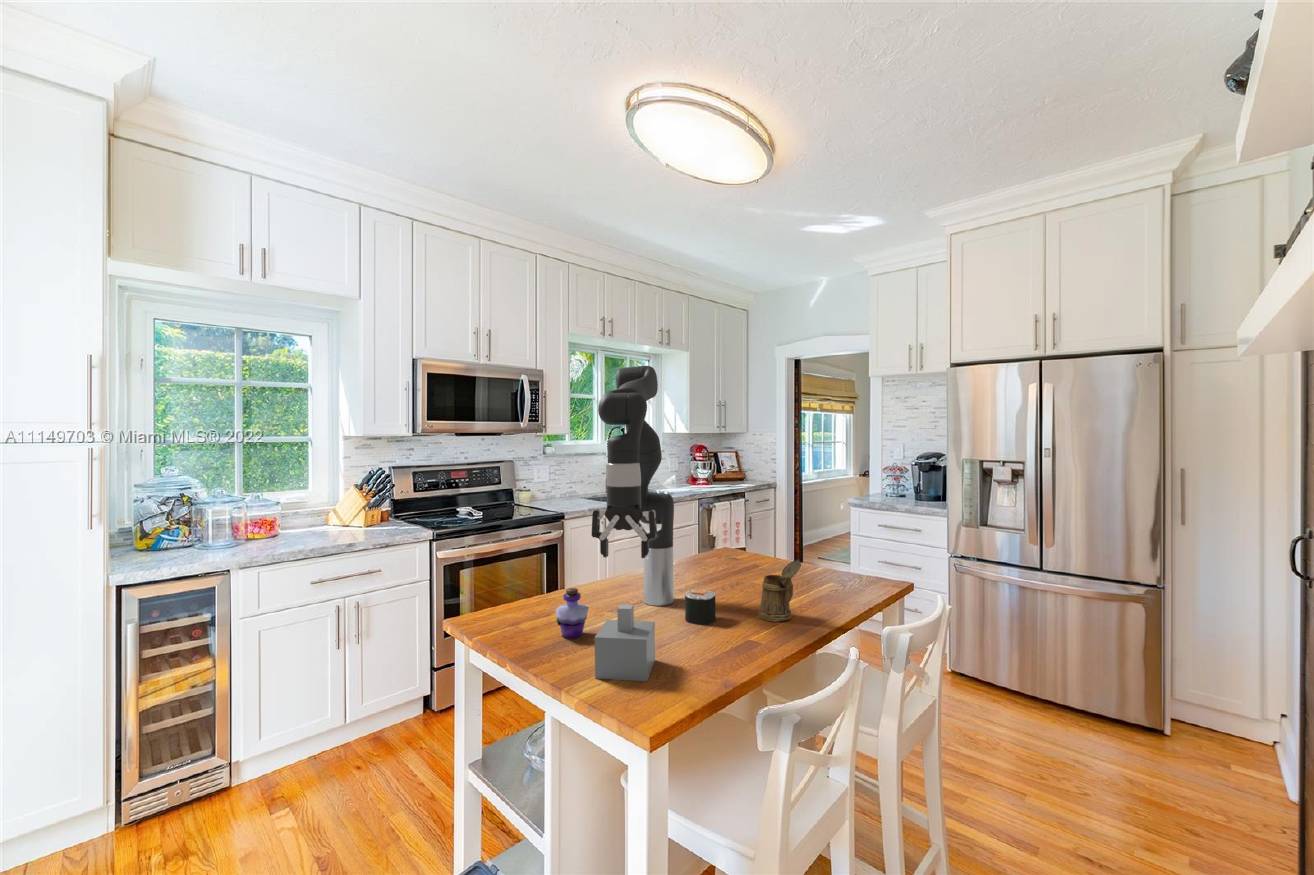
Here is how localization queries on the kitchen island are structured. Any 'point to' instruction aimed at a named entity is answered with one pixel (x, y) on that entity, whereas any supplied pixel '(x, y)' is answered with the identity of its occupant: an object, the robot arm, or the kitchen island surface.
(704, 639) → the kitchen island surface
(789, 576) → the wooden mug
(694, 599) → the sushi
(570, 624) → the potion bottle
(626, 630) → the grey block
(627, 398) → the robot arm
